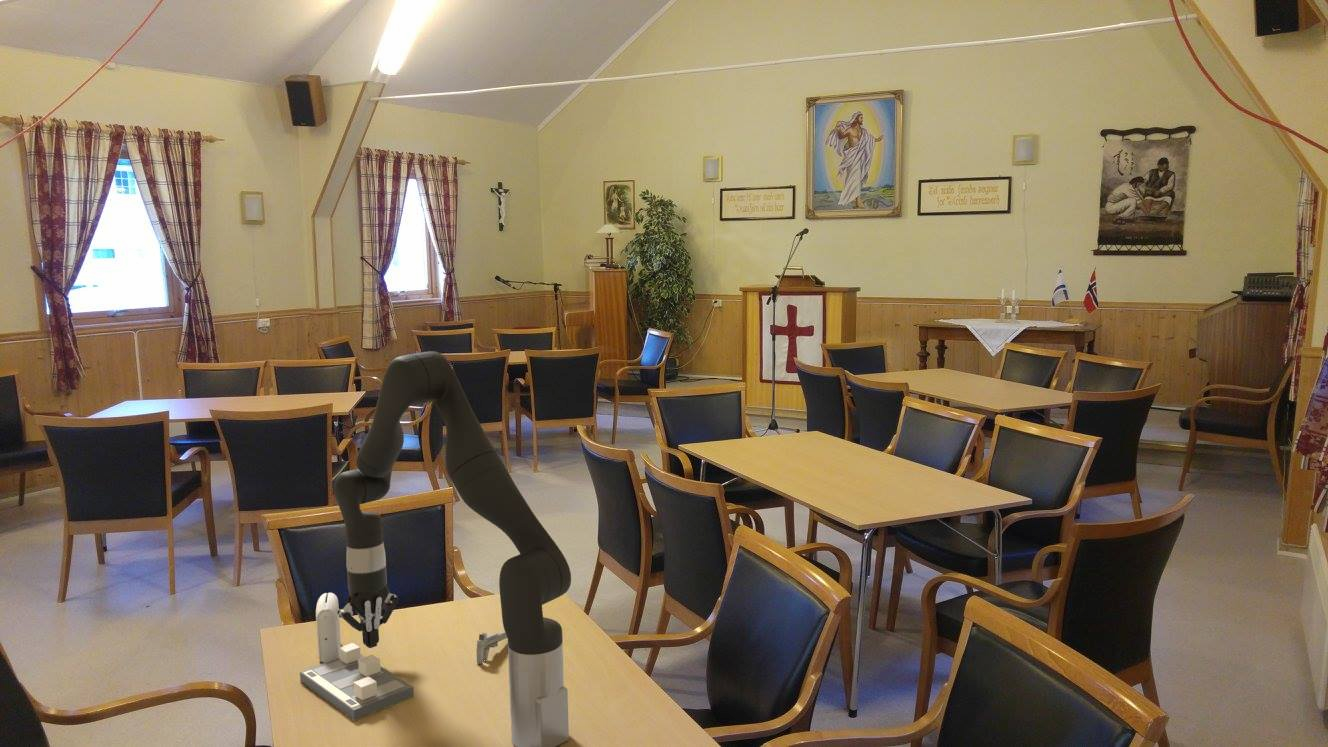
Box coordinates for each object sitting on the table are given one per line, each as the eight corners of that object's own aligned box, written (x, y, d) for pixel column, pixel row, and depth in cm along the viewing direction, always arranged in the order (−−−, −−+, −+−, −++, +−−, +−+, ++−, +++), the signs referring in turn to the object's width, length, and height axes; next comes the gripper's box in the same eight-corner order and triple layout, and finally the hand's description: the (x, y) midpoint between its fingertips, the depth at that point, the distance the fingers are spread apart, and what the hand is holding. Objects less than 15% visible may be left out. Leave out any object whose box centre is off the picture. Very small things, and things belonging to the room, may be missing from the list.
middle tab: (380, 671, 175) (380, 659, 175) (366, 676, 173) (365, 664, 173) (373, 666, 177) (372, 654, 177) (358, 671, 175) (358, 659, 175)
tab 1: (360, 658, 181) (359, 647, 180) (346, 663, 179) (345, 652, 178) (353, 654, 183) (352, 642, 182) (339, 659, 181) (338, 647, 180)
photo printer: (340, 661, 185) (336, 604, 183) (317, 664, 184) (313, 607, 182) (342, 641, 195) (338, 586, 193) (321, 643, 194) (317, 589, 192)
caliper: (481, 666, 183) (480, 637, 182) (476, 666, 183) (475, 636, 182) (528, 626, 202) (527, 600, 201) (523, 626, 202) (523, 599, 201)
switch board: (413, 696, 170) (413, 685, 170) (354, 720, 162) (353, 709, 161) (357, 660, 185) (356, 651, 185) (300, 681, 177) (299, 671, 176)
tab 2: (377, 694, 166) (376, 681, 166) (362, 700, 164) (361, 687, 164) (369, 689, 168) (368, 676, 168) (354, 694, 166) (353, 682, 166)
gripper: (344, 578, 174) (349, 662, 177) (405, 561, 184) (409, 641, 186) (326, 569, 179) (332, 651, 182) (387, 552, 189) (391, 631, 191)
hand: (371, 646), depth 184 cm, fingers closed
